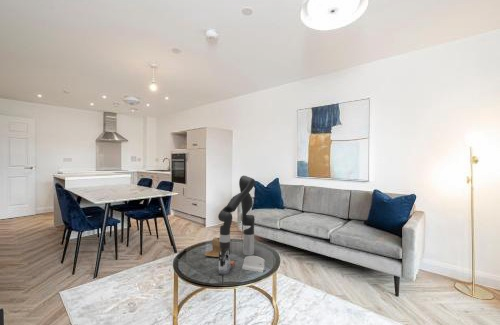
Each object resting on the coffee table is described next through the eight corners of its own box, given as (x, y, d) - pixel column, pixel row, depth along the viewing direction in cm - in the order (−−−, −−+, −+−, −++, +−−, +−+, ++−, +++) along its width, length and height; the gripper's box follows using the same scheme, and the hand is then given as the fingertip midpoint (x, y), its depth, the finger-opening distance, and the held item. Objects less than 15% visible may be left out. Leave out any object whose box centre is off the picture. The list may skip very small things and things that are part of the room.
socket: (226, 270, 162) (226, 260, 162) (218, 269, 164) (218, 259, 164) (230, 267, 168) (230, 257, 168) (222, 266, 170) (222, 256, 170)
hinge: (241, 268, 173) (243, 254, 177) (243, 268, 177) (245, 254, 181) (263, 272, 167) (265, 257, 171) (265, 272, 171) (266, 257, 175)
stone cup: (226, 254, 204) (227, 236, 205) (222, 259, 192) (222, 240, 193) (210, 252, 207) (210, 235, 208) (204, 257, 195) (205, 239, 196)
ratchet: (226, 275, 161) (227, 263, 162) (217, 274, 164) (217, 262, 164) (236, 265, 179) (237, 254, 180) (228, 264, 182) (228, 253, 182)
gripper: (225, 243, 159) (225, 268, 158) (233, 238, 172) (233, 261, 172) (215, 242, 161) (215, 267, 160) (224, 237, 175) (223, 259, 174)
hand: (224, 264), depth 166 cm, fingers open, 8 cm apart
